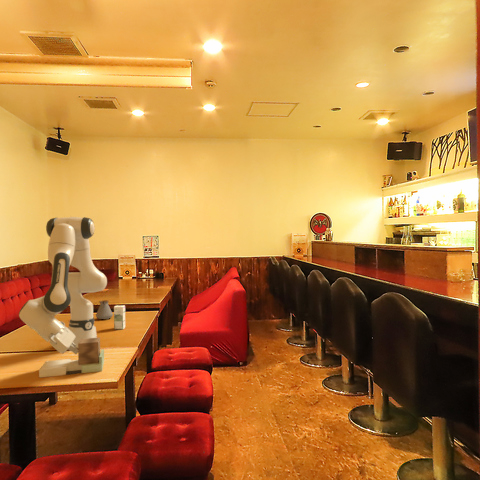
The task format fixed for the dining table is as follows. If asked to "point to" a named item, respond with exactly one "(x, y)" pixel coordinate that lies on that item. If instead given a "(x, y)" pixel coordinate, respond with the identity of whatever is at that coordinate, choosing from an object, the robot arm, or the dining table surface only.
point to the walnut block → (88, 351)
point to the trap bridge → (69, 367)
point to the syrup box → (119, 317)
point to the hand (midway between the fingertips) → (78, 352)
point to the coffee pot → (104, 310)
